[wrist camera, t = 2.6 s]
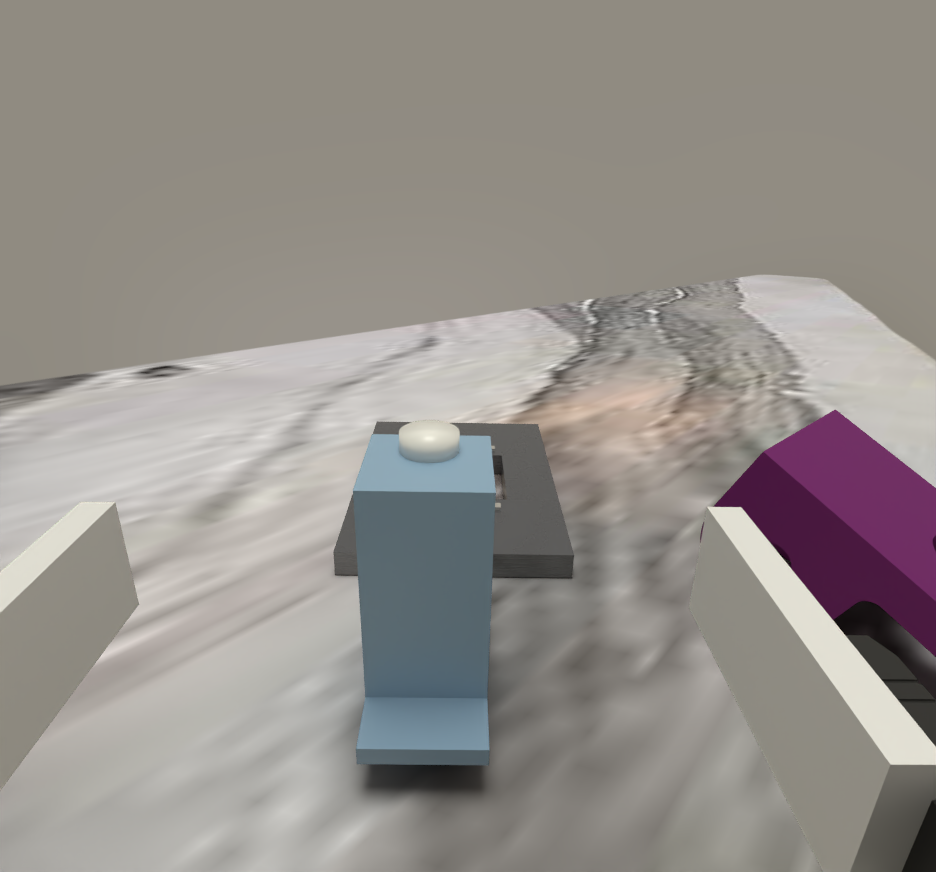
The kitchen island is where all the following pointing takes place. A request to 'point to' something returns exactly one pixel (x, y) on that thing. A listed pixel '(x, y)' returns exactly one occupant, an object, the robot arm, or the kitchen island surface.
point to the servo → (425, 595)
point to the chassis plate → (502, 507)
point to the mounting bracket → (847, 521)
